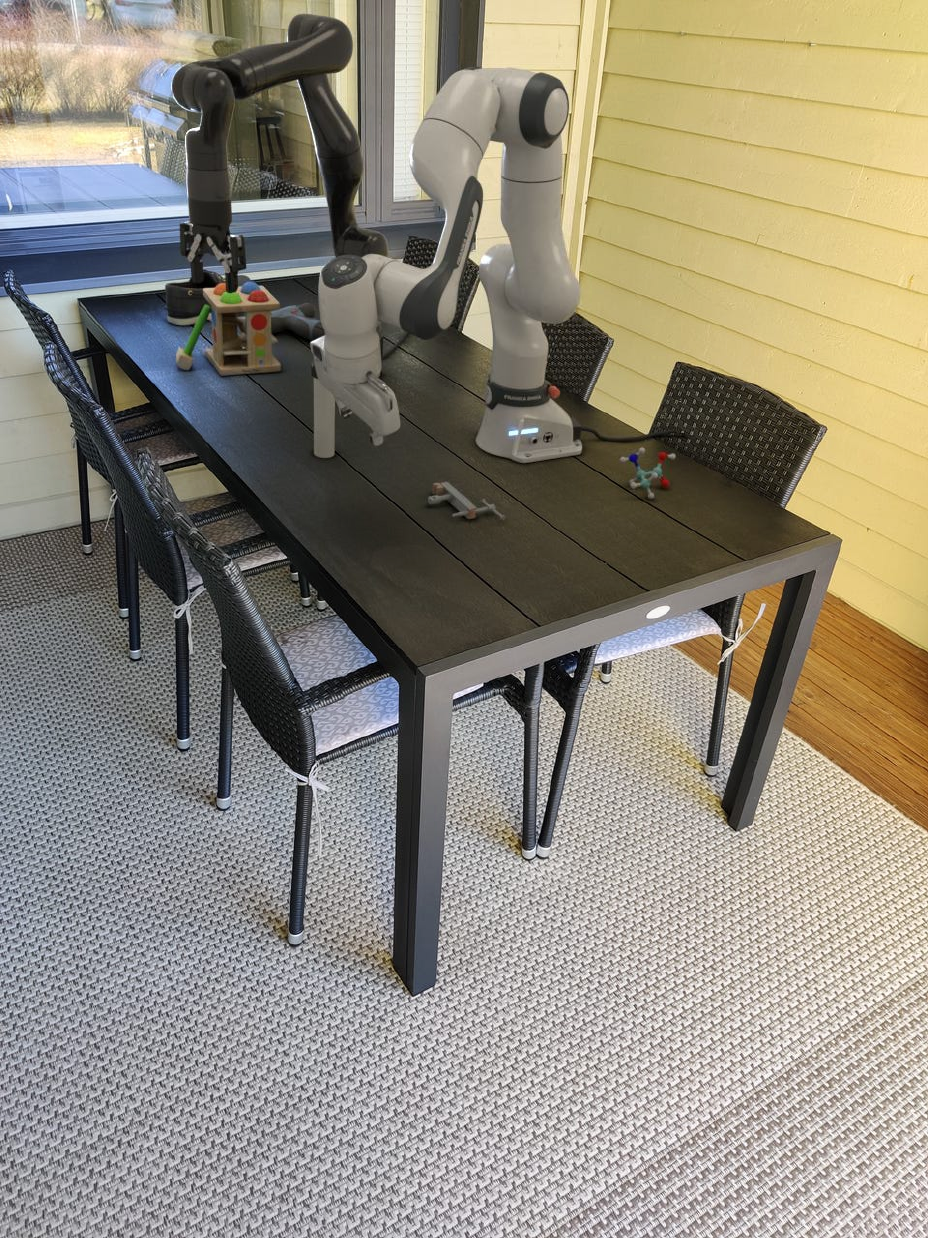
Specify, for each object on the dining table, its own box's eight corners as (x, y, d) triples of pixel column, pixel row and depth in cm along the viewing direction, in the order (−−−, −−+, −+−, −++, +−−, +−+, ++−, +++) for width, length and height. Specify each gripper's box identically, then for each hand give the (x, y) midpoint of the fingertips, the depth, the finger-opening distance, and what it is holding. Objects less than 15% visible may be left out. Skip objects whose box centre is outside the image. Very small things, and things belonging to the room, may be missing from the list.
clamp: (419, 485, 182) (465, 477, 187) (418, 496, 183) (464, 487, 188) (459, 522, 172) (507, 512, 176) (457, 533, 173) (505, 523, 177)
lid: (306, 376, 185) (306, 363, 184) (320, 368, 189) (320, 356, 188) (328, 382, 184) (328, 369, 182) (342, 374, 187) (342, 362, 186)
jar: (310, 454, 195) (309, 365, 184) (321, 447, 198) (321, 360, 187) (327, 459, 193) (327, 370, 183) (338, 452, 196) (339, 364, 186)
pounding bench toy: (183, 379, 220) (176, 299, 210) (169, 357, 231) (162, 280, 221) (282, 371, 230) (280, 294, 220) (264, 350, 240) (262, 276, 230)
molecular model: (677, 492, 186) (662, 441, 184) (629, 506, 189) (614, 457, 188) (684, 485, 196) (670, 436, 195) (639, 499, 200) (624, 451, 198)
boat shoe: (273, 303, 272) (271, 265, 267) (185, 327, 248) (181, 285, 243) (238, 295, 278) (236, 257, 272) (149, 317, 254) (144, 276, 249)
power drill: (365, 313, 253) (305, 296, 261) (318, 330, 240) (256, 311, 248) (364, 334, 256) (305, 316, 264) (318, 351, 243) (257, 332, 251)
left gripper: (254, 199, 174) (257, 291, 183) (196, 184, 180) (201, 275, 189) (223, 204, 168) (228, 300, 177) (164, 189, 174) (172, 282, 183)
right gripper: (407, 382, 153) (411, 452, 163) (336, 325, 164) (344, 394, 174) (373, 397, 150) (380, 467, 161) (304, 338, 161) (314, 408, 172)
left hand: (214, 287), depth 183 cm, fingers open, 8 cm apart
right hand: (361, 429), depth 168 cm, fingers open, 8 cm apart
